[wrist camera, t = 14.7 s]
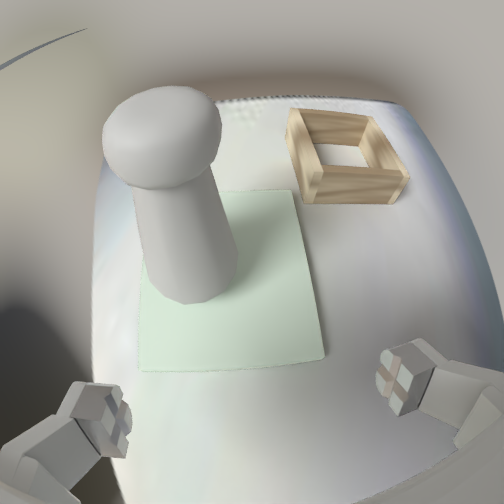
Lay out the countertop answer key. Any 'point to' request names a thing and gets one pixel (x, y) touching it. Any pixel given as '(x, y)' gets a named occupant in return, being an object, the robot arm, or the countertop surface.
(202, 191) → the salt shaker
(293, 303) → the sage mat
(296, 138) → the wooden box
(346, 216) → the countertop surface
